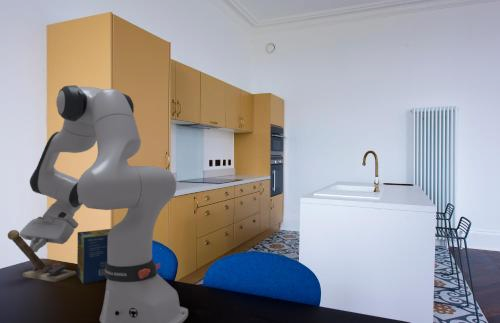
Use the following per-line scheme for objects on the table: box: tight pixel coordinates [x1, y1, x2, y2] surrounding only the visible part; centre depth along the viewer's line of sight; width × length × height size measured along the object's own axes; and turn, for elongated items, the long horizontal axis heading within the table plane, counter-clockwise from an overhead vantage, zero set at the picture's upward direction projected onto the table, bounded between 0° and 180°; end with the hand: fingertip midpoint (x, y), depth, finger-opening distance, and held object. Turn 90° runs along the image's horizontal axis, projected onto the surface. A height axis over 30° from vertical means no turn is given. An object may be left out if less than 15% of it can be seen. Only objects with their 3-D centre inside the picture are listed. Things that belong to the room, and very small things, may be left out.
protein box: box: [76, 228, 112, 285], centre depth 119 cm, size 10×15×16 cm
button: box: [51, 263, 61, 269], centre depth 120 cm, size 3×3×2 cm
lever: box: [7, 229, 48, 270], centre depth 115 cm, size 3×3×20 cm
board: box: [21, 266, 77, 283], centre depth 119 cm, size 16×8×3 cm, turn 70°
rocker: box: [48, 264, 68, 275], centre depth 117 cm, size 3×5×1 cm, turn 160°
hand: (31, 251), depth 116 cm, fingers closed, pressing on lever
